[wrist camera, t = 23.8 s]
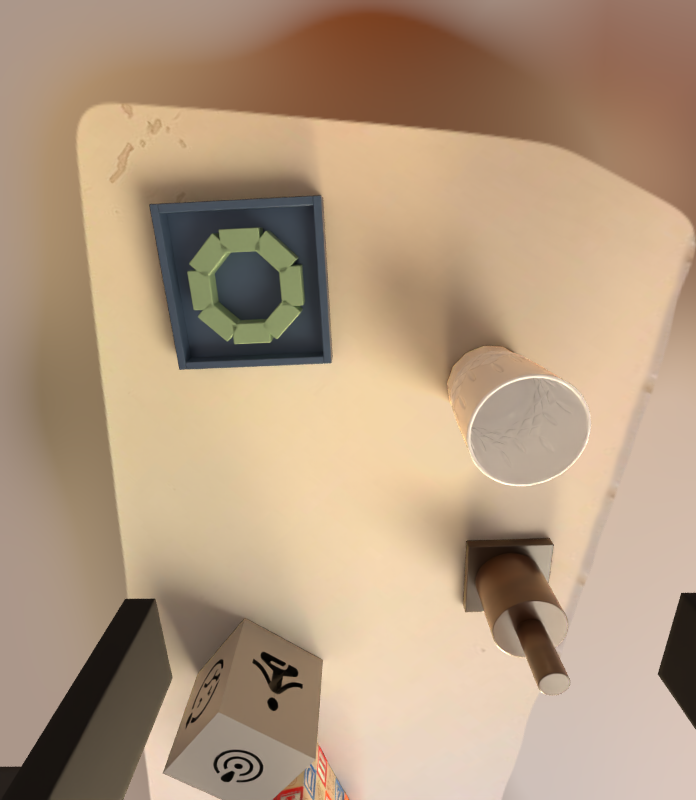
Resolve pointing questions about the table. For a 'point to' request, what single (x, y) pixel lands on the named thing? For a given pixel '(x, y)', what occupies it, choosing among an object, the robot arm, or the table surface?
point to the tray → (246, 280)
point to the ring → (206, 288)
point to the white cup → (517, 416)
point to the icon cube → (249, 718)
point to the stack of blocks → (314, 783)
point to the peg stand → (519, 603)
